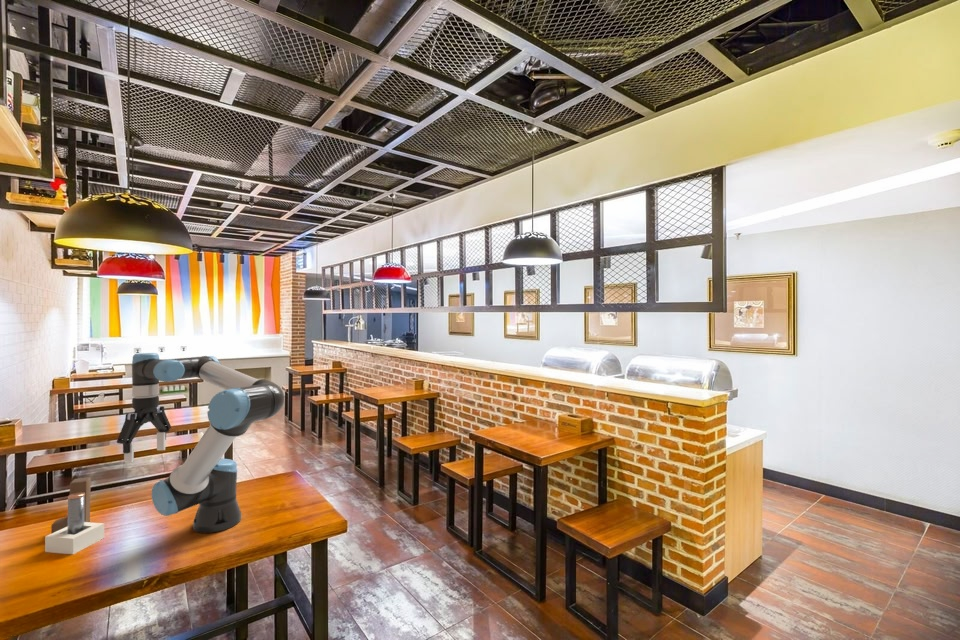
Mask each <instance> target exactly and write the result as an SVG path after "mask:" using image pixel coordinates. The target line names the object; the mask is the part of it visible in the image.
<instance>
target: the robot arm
mask: <svg viewBox="0 0 960 640" xmlns="http://www.w3.org/2000/svg"><path fill="white" fill-rule="evenodd" d="M220 363H221V362H220V361H219V360H218V358H217V357H215V356H212V355H203V356H192V357H179V358H168V359H166V358H164V359H163V358H162V359H160V356H159V354H158V353H157V352H145V353H144V352H143V353H135V354H134V355H132V363H131V379H132V380H131V383H132V385H131V386H132V389H131V391H132V392H131V393H132V394H131V396H132V397H133V398H132V399H131V402H132V403H131V408H132V409H133V410H134V412H133V413H126V414H125V416H124V417H125V419H124V422H123V425H122V428H121V429H120V432H119V435H118V438H117V440H116V444H119V445H120V444H121V445H122V453H123V462H124V463H134V462H135V461H134V460H135V457H134V456H135V454H134V453H135V449H134V445H135V443H134V442H133V440H134V439H135V437H136V436H137V434H138V432H139V431H140V428H141V427H142V426H144V424H146V423H151V424H152V426H154V428H155V429H156V430H157V431H158V432H156V451H166V441H167V433H169V431H170V429H172V426H171V424H170V421H169V418H168V416H167V414H166V411H165V406H164V405H163V406H160V396H159V394H160V382H164V383H169V382H176V381H178V380H184V379H192V378H198V379H200V380H203V381H205V382H207V383H210V384H212V385H213V386H216V387H218V388H221V389H223V390H221V391H219V392H217V393H216V394H215V395H214V396H213V397H212V398H211V400H210V401H209V403H208V406H207V410H208V411H207V418H208V421H209V426H208V427H207V429H206V430H205V431H204V433H203V434H202V436H201V437H200V439H199V441H198V442H197V443H196V445H195V447H194V448H193V449H192V450H191V453H190V454H189V455H188V457H187V458H186V459H185V461H184V462H183V464H181V465H179V466H177V467H175V468H174V469H173V470H172V471H171V473H170V474H169V476H168V477H166V478H165V479H162V480H159V481H157V482H155V483H154V484H153V485H152V489H151V500H152V503H153V505H154V508H155V510H156V511H157V513H159V514H160V515H161V516H164V517H169V516H172V515H175V514H178V513H180V512H182V511H185V510H188V509H190V508H192V507H194V506H197V505H199V506H198V508H197V510H196V513H195V516H194V519H193V522H192V529H193V531H194V532H196V533H199V534H211V533H217V532H218V533H219V532H221V531H224V530H227V529H231V528H232V527H234V526H236V525H238V524H239V523H240V522H241V520H242V511H241V509H240V505H239V502H238V501H237V481H238V478H237V476H238V467H237V466H238V465H237V462H236V461H235V460H233V459H229V458H222V457H223V456H224V455H225V453H226V452H227V451H228V449H229V447H230V446H231V445H232V444H233V442H234V441H235V439H236V438H237V437H240V436H243V435H244V434H245V433H246V432H247V431H248V429H249V428H250V427H251V425H252V424H253V423H256V422H259V421H263V420H267V419H270V418H273V417H275V416H276V415H277V414H278V413H280V411H281V409H282V407H283V406H284V404H285V393H284V392H283V390H282V388H281V387H280V386H279V385H278V384H277V383H275V382H273V381H272V380H271V381H270V380H268V379H266V378H260V379H258V378H256V377H254V376H250V375H248V374H246V373H243V372H242V371H241V372H240V371H238V370H236V369H233V368H231V367H229V366H226V365H223V364H220Z"/></svg>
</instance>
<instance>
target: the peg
mask: <svg viewBox="0 0 960 640" xmlns="http://www.w3.org/2000/svg"><path fill="white" fill-rule="evenodd" d="M84 510H85V493H84V492H79V493H74V494H71V495H70V494H69V495H68V496H67V516H68V528H67V534H72V535H75V534H77V533H79V532H81V531H83V530H84Z"/></svg>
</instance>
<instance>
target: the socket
mask: <svg viewBox="0 0 960 640" xmlns="http://www.w3.org/2000/svg"><path fill="white" fill-rule="evenodd" d="M67 528H68V526H67V527H65V528H63V529H61V530H58V531H56V532H54V533H52V534H51V533H50V534H48V535H45V537H44V541H45V542H44V553H51V554H61V555H75V554H77V553H78V552H81V551H82V550H84V549H86V548H88V547H90V546H92V545H94V544H96V543H97V542H99V541H101V539H102V540H104V539H105V523H104V522H103V523H101V522H91V521H90V522H84V530H83V531H81V532H79V533H77V534H75V535H72V534H67ZM103 538H104V539H103Z"/></svg>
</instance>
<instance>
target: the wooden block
mask: <svg viewBox="0 0 960 640" xmlns="http://www.w3.org/2000/svg"><path fill="white" fill-rule="evenodd" d="M91 482H92V479H91V476H87V477H79V478H74V479H73V480H72V481H70V483H69V495H71V494H74V493H79V492H84V493H85V510H84V522H91V489H92V487H91V486H92V485H91ZM67 526H68V515H66V516H64V517H60V518H57V519H56V520H54V522H52V524H51V528H50V529H51V530H50V531H51V532H50V534H52V533H54V532H56V531H58V530H61V529H63V528H65V527H67Z"/></svg>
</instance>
